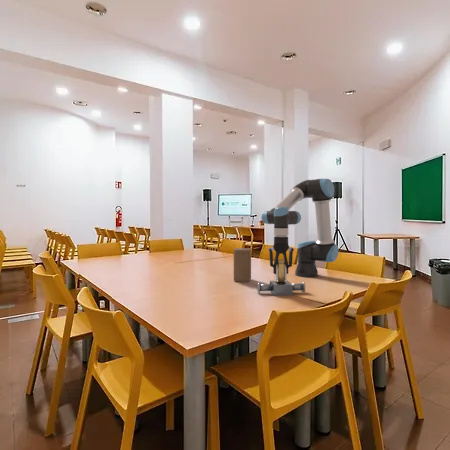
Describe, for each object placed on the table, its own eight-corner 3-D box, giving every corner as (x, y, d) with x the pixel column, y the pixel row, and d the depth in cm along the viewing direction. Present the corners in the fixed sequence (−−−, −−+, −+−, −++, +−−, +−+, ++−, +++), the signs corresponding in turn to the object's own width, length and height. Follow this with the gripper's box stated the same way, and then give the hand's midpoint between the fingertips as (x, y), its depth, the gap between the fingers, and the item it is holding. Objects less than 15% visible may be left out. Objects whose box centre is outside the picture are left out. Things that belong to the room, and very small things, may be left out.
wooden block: (249, 282, 191) (249, 250, 190) (233, 281, 193) (233, 249, 192) (251, 278, 201) (251, 248, 200) (236, 278, 203) (235, 247, 202)
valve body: (300, 290, 171) (300, 280, 171) (306, 295, 161) (306, 284, 161) (256, 291, 170) (256, 280, 170) (259, 295, 160) (259, 285, 160)
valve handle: (283, 285, 168) (284, 259, 167) (286, 287, 163) (286, 260, 163) (275, 285, 167) (275, 259, 167) (277, 287, 163) (277, 260, 162)
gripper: (294, 235, 169) (294, 278, 169) (263, 235, 168) (263, 278, 168) (298, 236, 161) (298, 281, 162) (266, 236, 160) (266, 281, 161)
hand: (280, 279), depth 165 cm, fingers closed on valve handle, 4 cm apart
